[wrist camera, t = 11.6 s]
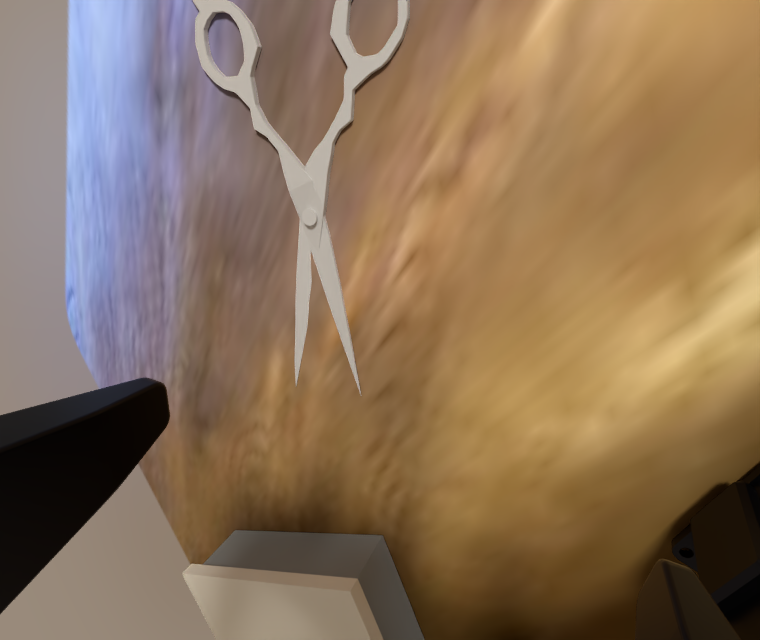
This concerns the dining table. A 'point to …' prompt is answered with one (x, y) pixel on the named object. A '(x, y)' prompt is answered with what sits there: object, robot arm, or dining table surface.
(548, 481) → the dining table surface
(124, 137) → the dining table surface
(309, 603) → the box
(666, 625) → the robot arm
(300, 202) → the scissors
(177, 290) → the dining table surface
